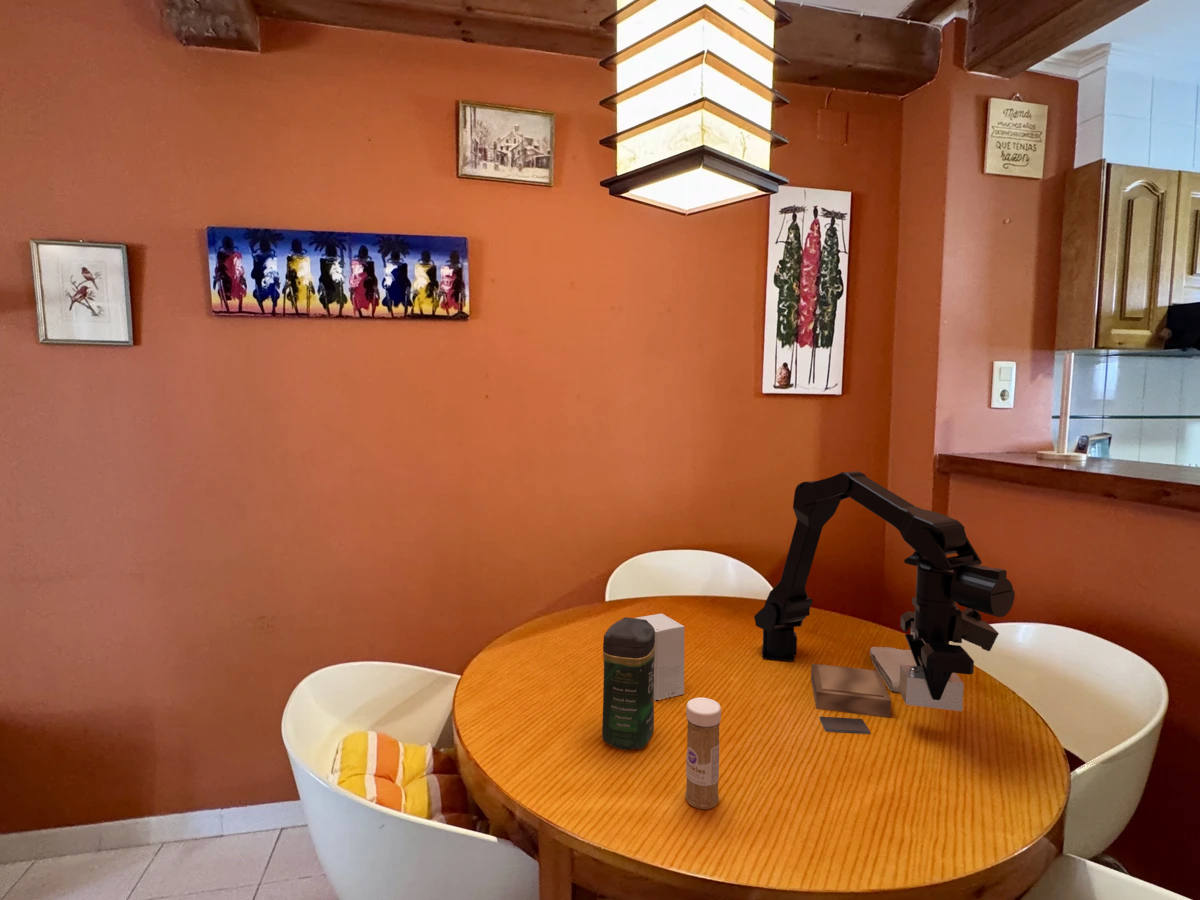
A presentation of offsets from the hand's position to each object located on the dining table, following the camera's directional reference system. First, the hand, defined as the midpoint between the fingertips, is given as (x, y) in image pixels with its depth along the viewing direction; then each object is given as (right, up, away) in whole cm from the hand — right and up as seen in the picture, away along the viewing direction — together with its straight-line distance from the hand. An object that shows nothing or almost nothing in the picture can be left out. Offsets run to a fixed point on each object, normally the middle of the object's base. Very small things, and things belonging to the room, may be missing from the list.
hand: (931, 691), depth 97 cm
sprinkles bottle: (-40, -9, -16) cm, 43 cm away
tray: (-8, -6, +13) cm, 17 cm away
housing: (0, -2, 0) cm, 2 cm away
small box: (-42, -6, +16) cm, 46 cm away
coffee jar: (-49, -8, 0) cm, 49 cm away
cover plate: (-13, -8, +3) cm, 15 cm away
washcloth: (+8, -6, +22) cm, 25 cm away
